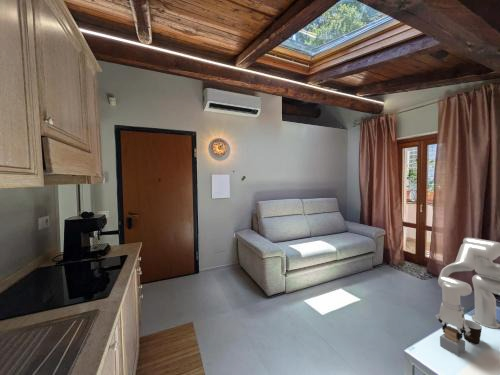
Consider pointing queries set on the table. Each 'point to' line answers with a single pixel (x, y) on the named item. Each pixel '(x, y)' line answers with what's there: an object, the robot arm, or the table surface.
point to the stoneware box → (452, 345)
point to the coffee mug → (472, 332)
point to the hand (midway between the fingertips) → (452, 334)
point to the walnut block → (451, 333)
